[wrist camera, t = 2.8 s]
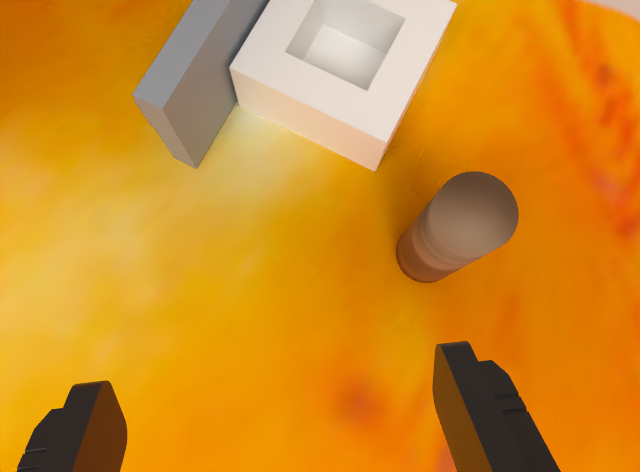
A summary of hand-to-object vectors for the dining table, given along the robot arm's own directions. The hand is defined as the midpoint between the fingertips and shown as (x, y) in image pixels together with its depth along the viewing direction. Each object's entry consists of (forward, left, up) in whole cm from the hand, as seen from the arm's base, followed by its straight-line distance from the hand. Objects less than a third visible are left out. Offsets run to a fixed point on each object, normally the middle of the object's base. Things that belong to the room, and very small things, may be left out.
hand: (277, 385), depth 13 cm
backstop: (+20, +16, -25) cm, 35 cm away
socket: (+22, +7, -25) cm, 34 cm away
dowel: (+12, -5, -25) cm, 28 cm away
